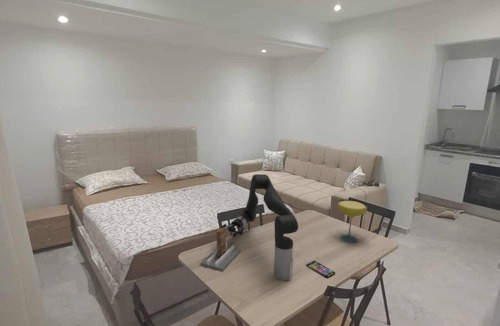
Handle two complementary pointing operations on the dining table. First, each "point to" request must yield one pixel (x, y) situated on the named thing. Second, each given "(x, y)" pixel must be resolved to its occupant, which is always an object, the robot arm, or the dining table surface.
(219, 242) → the brown wooden block
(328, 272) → the smartphone
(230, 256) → the track plinth
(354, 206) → the cocktail glass
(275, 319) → the dining table surface
